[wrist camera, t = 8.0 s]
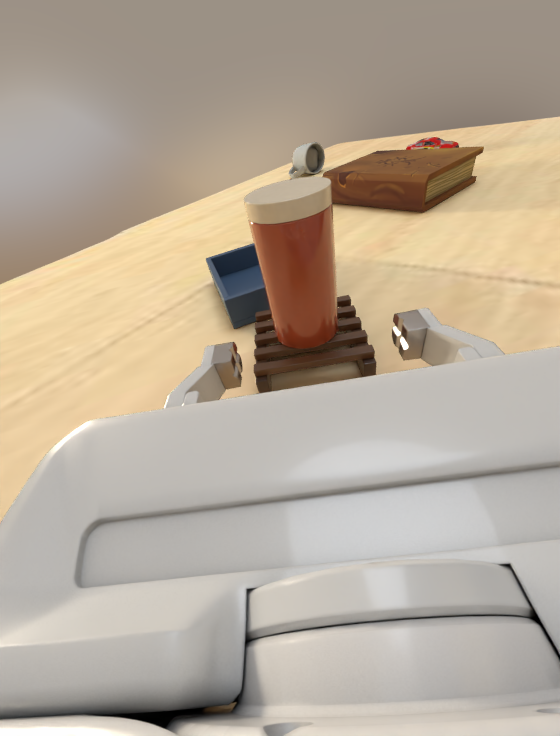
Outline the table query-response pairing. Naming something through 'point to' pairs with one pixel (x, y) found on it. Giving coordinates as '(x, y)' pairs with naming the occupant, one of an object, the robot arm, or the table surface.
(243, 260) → the tray
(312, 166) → the ceramic mug
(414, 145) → the race car
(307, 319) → the cup
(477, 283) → the table surface
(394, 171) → the diary
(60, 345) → the table surface
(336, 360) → the drying rack
